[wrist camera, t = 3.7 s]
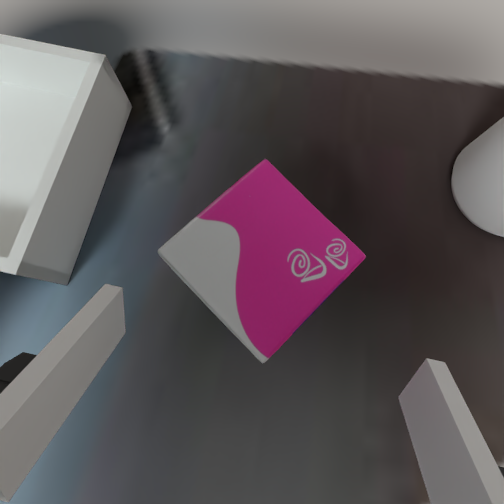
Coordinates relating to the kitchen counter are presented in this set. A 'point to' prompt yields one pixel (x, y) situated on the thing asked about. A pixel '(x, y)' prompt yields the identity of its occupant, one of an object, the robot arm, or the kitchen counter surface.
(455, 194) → the alcohol
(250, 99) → the kitchen counter surface
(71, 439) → the kitchen counter surface
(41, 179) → the tote
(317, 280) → the supplement box
